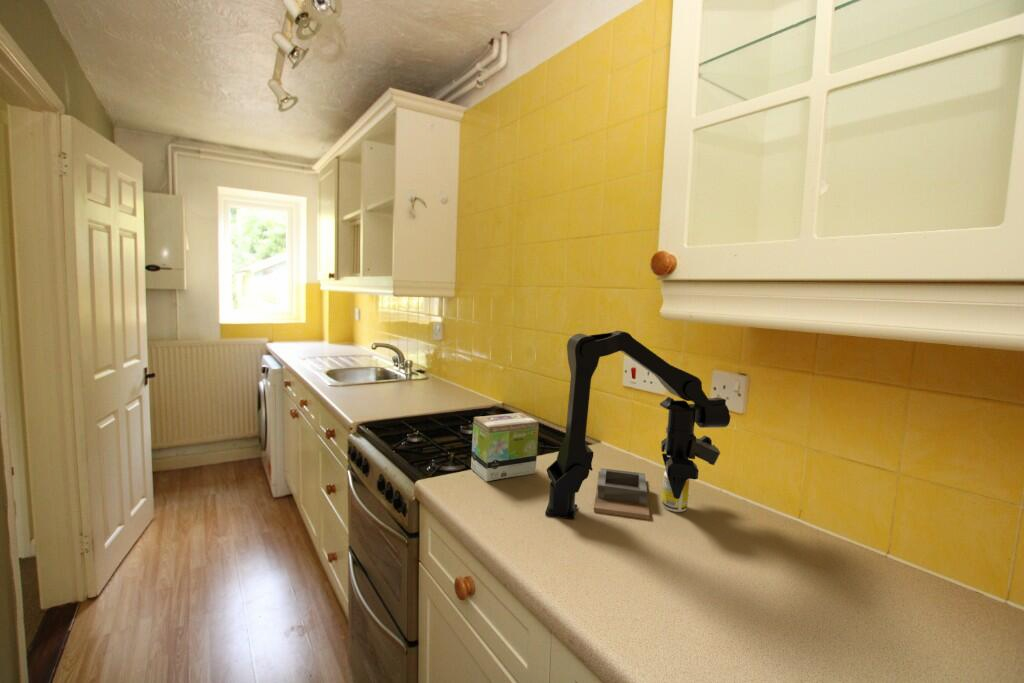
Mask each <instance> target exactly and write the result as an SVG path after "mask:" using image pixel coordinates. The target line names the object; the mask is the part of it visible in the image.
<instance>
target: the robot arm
mask: <svg viewBox="0 0 1024 683" xmlns="http://www.w3.org/2000/svg"><path fill="white" fill-rule="evenodd" d="M619 352H621V353H623V354H624V355H626V356H627V357H628V358H630V359H631V360H632V361H634V362H636V363H637V364H638V365H640V366H641V367H642V368H644V369H646V371H648V372H649V373H651V374H652V375H654V376H655V378H657V379H658V381H659V383H660V384H661V385H662V386H663V387H664V388H665V389H666V390H667V391H668V393H670V394H672V395H674V396H675V397H678V398H680V399H682V400H679V399H677V400H674V398H672V397H671V396H666V398H665V399H664V400H662V401H661V402H660V403H659V406H660V407H662V408H664V409H665V410H668V413H667V427H665V434H666V437H665V438H664V439H663V440H661V441H660V449H661V450H660V451H661V453H662V454H661V456H662V459H663V464H664V466H665V468H664V469H665V470H664V471H666V474H667V477H668V480H669V483H670V486H671V489H672V492H673V496H674V498H676V499H679V498H680V496H681V493H682V490H683V488H684V485H685V483H686V481H687V480H688V479H689V480H698V479H699V469H698V465H697V464H696V463H695V462H694V460H696V458H698V459H701V460H703V461H705V462H706V463H708V464H710V465H712V466H715V464H716V463H717V461H718V459H719V456H720V455H721V451H720V450H719V448H718V447H717V446H715V445H714V444H712V443H713V441H712V439H711V437H709V436H707V435H703V436H702V437H700V438H699V437H698V438H697V437H696V435H695V424H696V425H697V427H699V428H701V429H702V428H703V429H704V428H705V429H706V428H712V429H713V428H714V429H715V428H726V427H728V426H729V425H730V422H731V415H730V410H729V407H728V406H727V404H726V403H727V402H726V400H727V399H726V398H723V397H708V396H707V395H706V393H705V391H703V390H704V389H703V385H702V384H703V383H702V380H701V379H700V378H699V377H698V376H696V375H694V374H691V373H689V372H687V371H685V370H682V369H680V368H678V367H676V366H674V365H671V364H670V363H668V361H666V360H664V359H663V358H662V357H660V356H659V355H657V354H656V353H655V352H653V351H652V350H650V349H649V348H648V347H647V346H645V345H644V344H642V342H640V341H638V340H636V339H635V338H634V337H633V336H632V335H631V334H630V333H629V332H627V331H623V330H615V331H611V332H605V333H595V334H591V335H588V334H584V333H576V334H574V335H572V336H571V337H570V338H569V339H568V341H567V344H566V353H567V362H568V366H569V371H570V382H569V383H570V384H569V394H568V404H567V405H568V406H567V414H566V415H567V416H566V424H565V425H566V426H565V435H564V439H563V440H562V442H561V444H560V446H559V450H558V452H557V453H558V454H557V456H556V460H554V461H553V462H552V463H551V464H550V465H549V466H548V467H547V468H546V472H547V476H548V478H549V479H550V482H549V493H548V494H549V496H548V497H549V498H548V503H547V506H546V510H545V511H544V515H545V516H548V517H554V518H555V517H556V518H561V519H569V520H575V518H576V514H577V511H578V504H577V503H576V493H579V492H580V489H581V487H582V484H583V482H584V481H585V480H586V479H588V477H589V475H590V471H591V472H592V471H593V470H594V469H593V465H592V463H593V458H594V451H593V450H592V449H591V447H589V445H588V444H587V443H586V436H587V435H586V434H587V427H588V416H589V415H588V414H589V405H590V394H591V386H592V385H591V384H592V378H593V376H594V374H595V372H596V369H597V368H598V364H599V362H600V358H602V357H606V356H609V355H612V354H615V353H619ZM688 402H692V403H688Z"/></svg>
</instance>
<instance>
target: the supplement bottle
mask: <svg viewBox="0 0 1024 683" xmlns="http://www.w3.org/2000/svg"><path fill="white" fill-rule="evenodd" d="M662 484H663V485H662V496H661V497H662V498H661V504H662V505H661V506H662V507H663V508H665V509H666V510H668V511H671V512H675V513H682V512H685V511H686V510H687V509H688V504H689V503H688V502H689V501H688V500H689V489H690V488H689V487H690V479H688V480H687V481H686V483H685V485H684V488H683V490H682V493H681V496H680V498H679V499H676V498H674V496H673V492H672V489H671V486H670V483H669V480H668V477H667V474H666V470H664V472H663V482H662Z"/></svg>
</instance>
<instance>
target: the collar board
mask: <svg viewBox="0 0 1024 683" xmlns="http://www.w3.org/2000/svg"><path fill="white" fill-rule="evenodd" d="M597 476H598V477H597V483H596V491H595V498H594V504H593V513H599V514H606V515H613V516H621V517H628V518H633V519H642V520H647V521H649V520H650V509H649V500H648V499H649V498H648V489H647V482H646V481H647V480H646V479H647V478H646V473H643V472H635V471H629V470H627V471H626V470H619V469H612V468H611V469H609V468H604V467H603V468H602V467H600V470H599V471H598V475H597Z"/></svg>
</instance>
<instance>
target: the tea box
mask: <svg viewBox="0 0 1024 683" xmlns="http://www.w3.org/2000/svg"><path fill="white" fill-rule="evenodd" d="M472 423H473V425H472V438H471V439H472V440H471V441H472V442H471V458H470V460H471V462H470V463H471V465H470V468H471V469H472V471H473V472H475V474H476V475H478V476H479V478H481V479H482V480H484V481H485V482H486V483H487V482H491V481H495V480H500V479H507V478H513V477H514V478H515V477H520V476H526V475H527V476H528V475H533V474H536V469H537V457H538V442H539V441H538V440H539V439H538V438H539V425H540V424H539V421H538V420H537V419H534V418H532V417H531V416H529V415H526V414H524V413H522V412H513V413H505V414H503V413H502V414H495V415H494V414H493V415H492V414H491V415H485V416H484V415H483V416H481V415H480V416H474V417H473V422H472Z"/></svg>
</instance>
